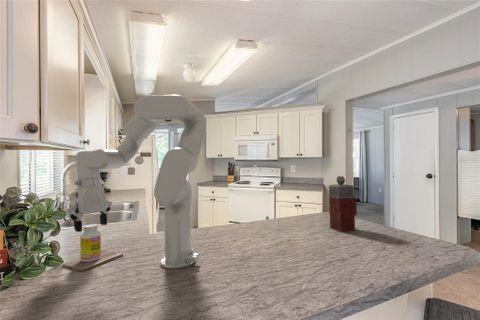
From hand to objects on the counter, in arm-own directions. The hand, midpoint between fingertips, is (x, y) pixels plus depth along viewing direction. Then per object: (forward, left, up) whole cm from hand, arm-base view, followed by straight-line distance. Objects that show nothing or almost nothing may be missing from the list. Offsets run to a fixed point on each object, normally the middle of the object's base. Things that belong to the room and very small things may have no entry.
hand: (91, 227), depth 94 cm
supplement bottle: (+1, 0, -12) cm, 12 cm away
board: (0, -1, -13) cm, 13 cm away
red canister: (-84, -82, -13) cm, 118 cm away
